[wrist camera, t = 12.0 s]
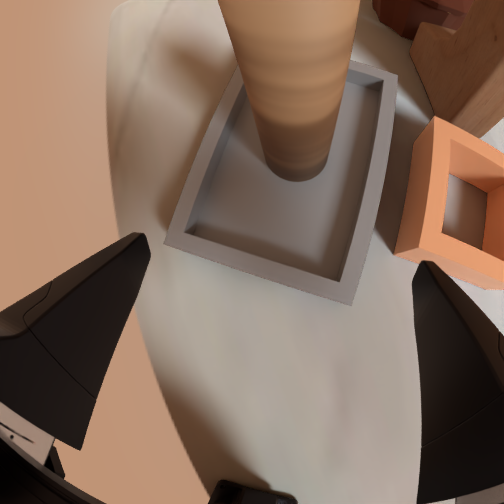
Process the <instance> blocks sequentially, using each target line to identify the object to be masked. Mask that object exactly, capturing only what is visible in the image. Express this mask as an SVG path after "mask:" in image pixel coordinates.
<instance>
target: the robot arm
mask: <svg viewBox="0 0 504 504" xmlns="http://www.w3.org/2000/svg"><path fill="white" fill-rule="evenodd" d="M150 257H151V252H150V249H149V245H148V242H147V238H146V235H145V234H144V233H137V232H133V233H131V234H129V235H127V236H126V237H124V238H122V239H120V240H118V241H117V242H115V243H113V244H111V245H110V246H108V247H106V248H104V249H103V250H101V251H99V252H97V253H96V254H94V255H92V256H91V257H89V258H87V259H86V260H84V261H82V262H81V263H79V264H77V265H76V266H74V267H72V268H71V269H69V270H67V271H66V272H64V273H63V274H61V275H59V276H58V277H56V278H55V279H53V281H50V282H48V283H47V284H45V285H44V286H42V287H41V288H39V289H37V290H36V291H34V292H33V293H31V294H29V295H28V296H26V297H24V298H23V299H21V300H19V301H18V302H16V303H14V304H13V305H11V306H9V307H7V308H6V309H4V310H3V311H1V312H0V504H106V503H104V502H102V501H100V500H98V499H96V498H94V497H92V496H90V495H89V494H87V493H85V492H84V491H82V490H80V489H78V488H77V487H75V486H73V485H72V484H70V483H68V482H67V481H66V480H64V477H65V473H64V470H63V468H62V465H61V462H60V459H59V456H58V453H57V450H56V448H55V447H54V446H53V443H54V441H55V439H58V440H60V441H62V442H64V443H66V444H67V445H69V446H71V447H73V448H75V449H77V450H81V448H82V445H83V442H84V438H85V435H86V431H87V428H88V425H89V421H90V419H91V415H92V412H93V409H94V406H95V403H96V399H97V397H98V394H99V391H100V388H101V385H102V383H103V380H104V376H105V374H106V372H107V369H108V366H109V364H110V361H111V358H112V356H113V353H114V350H115V348H116V345H117V343H118V341H119V338H120V336H121V333H122V331H123V328H124V326H125V323H126V321H127V319H128V316H129V314H130V312H131V309H132V307H133V305H134V303H135V300H136V298H137V296H138V293H139V290H140V287H141V284H142V281H143V278H144V275H145V272H146V270H147V267H148V264H149V261H150ZM412 294H413V309H414V327H415V335H416V343H417V352H418V362H419V373H420V388H421V415H422V436H421V446H422V447H421V459H420V474H419V485H418V494H417V504H427V503H433V502H439V501H444V500H448V499H453V498H455V504H504V336H503V334H502V333H501V332H500V331H499V330H498V328H497V327H496V326H495V325H494V324H493V323H492V321H491V320H490V319H489V318H488V317H487V316H486V315H485V313H484V312H483V311H482V310H481V309H480V308H479V307H478V306H477V305H476V304H475V303H474V301H473V300H472V299H471V298H470V297H469V296H468V295H467V294H466V293H465V292H464V291H463V290H462V289H461V288H460V287H459V286H458V285H457V284H456V283H455V282H454V281H453V280H452V279H451V278H450V277H449V276H448V275H447V274H446V273H445V272H444V271H443V270H442V269H441V268H440V267H439V266H438V265H437V264H436V263H435V262H433V261H429V260H422V261H421V262H420V264H419V266H418V268H417V271H416V273H415V275H414V277H413V280H412ZM222 485H224V486H222ZM208 504H298V501H297V500H295V499H292V498H287V497H282V496H278V495H274V494H270V493H266V492H262V491H258V490H255V489H251V488H248V487H244V486H241V485H238V484H235V483H232V482H229V481H226V480H220V481H218V483H217V485H216V487H215V490H214V492H213V494H212V496H211V498H210V500H209V502H208Z"/></svg>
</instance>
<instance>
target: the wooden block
mask: <svg viewBox="0 0 504 504" xmlns="http://www.w3.org/2000/svg"><path fill="white" fill-rule="evenodd" d="M409 53H410V56H411V58H412V60H413V63H414V65H415V67H416V69H417V71H418V73H419V76H420V78H421V80H422V83H423V85H424V87H425V90H426V92H427V95H428V97H429V100H430V103H431V105H432V108H433V111H434V114H435V116H436V117H438V118H440V119H443V120H445V121H447V122H449V123H451V124H453V125H455V126H457V127H459V128H460V129H462V130H464V131H466V132H468V133H470V134H472V135H473V136H475V137H477V138H481V137H482V136H483V135H484V134H485V133H487V132H488V131H489V130H490V129H491V128H492V127H493V126H495V125H496V124H497V123H498V122H499V121H500V120H501V119H502V118H503V117H504V0H474V1H473V3H472V5H471V7H470V9H469V11H468V13H467V15H466V17H465V19H464V21H463V23H462V25H461V27H460V28H459V29H458V30H457V31H456V30H453V29H449V28H446V27H442V26H439V25H435V24H431V23H427V22H421V23H420V25H419V28H418V31H417V33H416V36H415V38H414V41H413V43H412V46H411V48H410V51H409Z"/></svg>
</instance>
